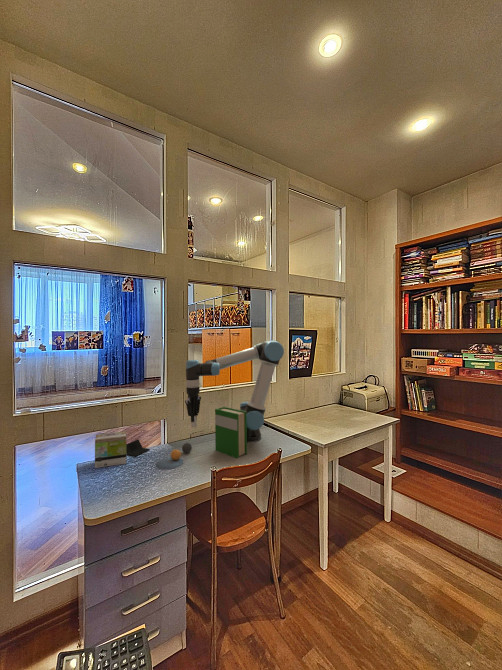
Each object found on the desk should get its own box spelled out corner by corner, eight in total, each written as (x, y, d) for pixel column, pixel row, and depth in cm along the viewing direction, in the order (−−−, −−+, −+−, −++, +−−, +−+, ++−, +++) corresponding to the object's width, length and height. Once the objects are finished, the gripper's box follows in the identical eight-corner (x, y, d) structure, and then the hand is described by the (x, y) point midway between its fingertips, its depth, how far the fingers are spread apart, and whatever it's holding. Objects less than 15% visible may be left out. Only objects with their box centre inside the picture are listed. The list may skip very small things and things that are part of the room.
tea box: (94, 469, 154) (94, 440, 154) (95, 461, 164) (95, 434, 163) (126, 463, 160) (126, 435, 160) (126, 456, 170) (125, 430, 169)
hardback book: (246, 454, 171) (246, 411, 171) (237, 458, 165) (237, 414, 165) (224, 446, 183) (224, 406, 182) (215, 450, 177) (215, 409, 177)
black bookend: (139, 454, 168) (130, 438, 171) (129, 462, 169) (121, 446, 172) (151, 450, 179) (143, 435, 182) (142, 456, 180) (134, 442, 183)
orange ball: (182, 448, 165) (175, 454, 160) (183, 457, 166) (177, 463, 162) (174, 446, 168) (167, 452, 163) (175, 455, 169) (169, 461, 164)
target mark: (188, 460, 163) (188, 460, 163) (171, 471, 151) (171, 471, 151) (168, 456, 169) (168, 455, 169) (149, 466, 157) (149, 466, 157)
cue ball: (187, 443, 171) (186, 454, 170) (194, 442, 176) (193, 452, 175) (180, 442, 174) (179, 453, 173) (186, 441, 178) (186, 451, 177)
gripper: (194, 384, 186) (195, 423, 186) (180, 388, 174) (181, 429, 175) (204, 385, 183) (205, 424, 183) (191, 389, 171) (192, 431, 171)
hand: (194, 426), depth 179 cm, fingers closed
